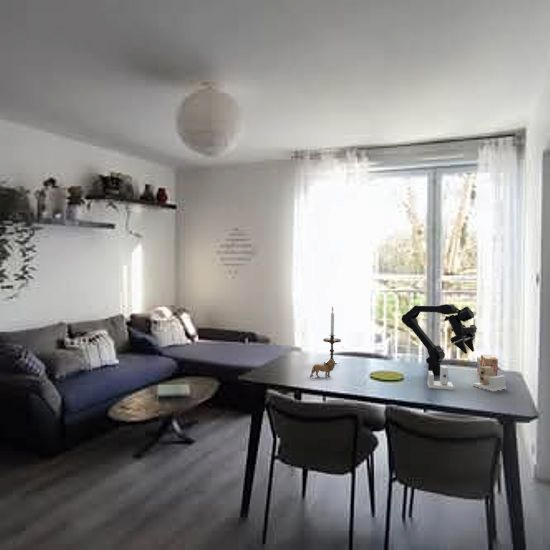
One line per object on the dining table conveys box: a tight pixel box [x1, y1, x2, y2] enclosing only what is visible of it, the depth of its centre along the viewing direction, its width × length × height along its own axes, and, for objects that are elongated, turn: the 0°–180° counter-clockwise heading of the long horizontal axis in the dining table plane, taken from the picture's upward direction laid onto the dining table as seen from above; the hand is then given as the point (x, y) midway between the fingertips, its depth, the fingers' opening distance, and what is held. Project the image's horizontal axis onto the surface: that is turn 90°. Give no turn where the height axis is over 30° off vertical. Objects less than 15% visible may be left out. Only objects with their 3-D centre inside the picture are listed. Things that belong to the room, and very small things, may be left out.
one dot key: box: [439, 364, 449, 384], centre depth 240 cm, size 3×6×8 cm, turn 167°
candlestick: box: [322, 306, 342, 362], centre depth 298 cm, size 11×11×35 cm
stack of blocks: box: [476, 354, 499, 377], centre depth 264 cm, size 21×6×12 cm, turn 168°
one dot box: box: [426, 370, 455, 390], centre depth 241 cm, size 12×10×6 cm
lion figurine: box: [309, 358, 336, 378], centre depth 259 cm, size 15×5×9 cm, turn 111°
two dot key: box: [479, 366, 493, 384], centre depth 241 cm, size 3×6×8 cm, turn 120°
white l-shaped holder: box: [472, 374, 507, 392], centre depth 240 cm, size 12×10×6 cm
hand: (469, 352), depth 256 cm, fingers open, 9 cm apart
